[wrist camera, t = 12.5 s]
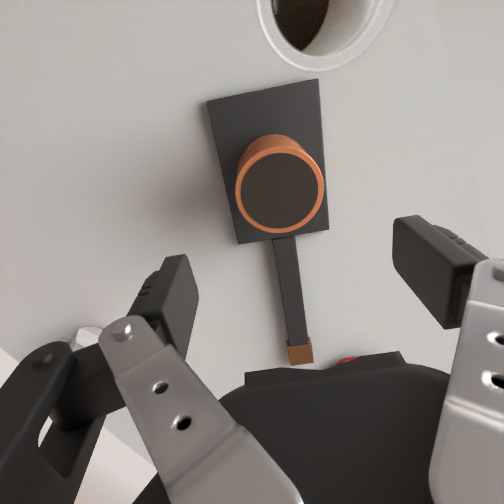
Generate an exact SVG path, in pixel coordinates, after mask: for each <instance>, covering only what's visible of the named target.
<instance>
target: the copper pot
mask: <svg viewBox="0 0 504 504" xmlns="http://www.w3.org/2000/svg"><path fill="white" fill-rule="evenodd" d="M323 193H324V182H323V177H322V174H321V171H320V169H319V167H318V166H317V164H316V163H315V162H314V160H313V159H312V158H311V157H310V156H309V155H308V154H307V153H306V152H305V151H304V149H303V148H302V147H301V146H300V145H299V144H298V143H297V142H295V141H294V140H293V139H291V138H289V137H287V136H284V135H279V134H271V135H265V136H262V137H260V138H258V139H256V140H254V141H253V142H252V143H250V144H249V145H248V146H247V148H246V149H245V150H244V152H243V154H242V156H241V158H240V161H239V165H238V172H237V179H236V186H235V197H236V202H237V206H238V208H239V210H240V212H241V214H242V215H243V216H244V218H245V219H246V220H247V221H248V222H249V223H250V224H252V225H253V226H254V227H256V228H258V229H260V230H263V231H266V232H271V233H285V232H289V231H293V230H295V229H297V228H299V227H301V226H303V225H304V224H306V223H307V222H308V221H309V220H310V219H311V218H312V217H313V216H314V215H315V213H316V212H317V210H318V209H319V207H320V204H321V202H322V198H323Z"/></svg>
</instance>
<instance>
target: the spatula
mask: <svg viewBox="0 0 504 504" xmlns="http://www.w3.org/2000/svg"><path fill="white" fill-rule="evenodd" d="M207 107H208V111H209V116H210V120H211V125H212V129H213V134H214V138H215V143H216V147H217V151H218V156H219V160H220V165H221V169H222V174H223V178H224V183H225V187H226V192H227V196H228V201H229V205H230V210H231V214H232V219H233V223H234V227H235V232H236V236H237V241H238V244H245V243H251V242H257V241H263V240H269V239H272V241H273V247H274V253H275V259H276V265H277V271H278V277H279V283H280V289H281V295H282V301H283V307H284V313H285V319H286V325H287V331H288V337H289V340H287V347H288V353H289V359H290V364H291V366H292V365H300V364H307V363H314V361H313V353H312V345H311V341H310V337H308V335H307V327H306V319H305V311H304V304H303V296H302V288H301V280H300V272H299V265H298V257H297V249H296V241H295V236H294V235H299V234H305V233H311V232H317V231H323V230H329V218H328V204H327V190H326V176H325V162H324V148H323V134H322V120H321V106H320V92H319V79H313V80H308V81H303V82H298V83H293V84H288V85H283V86H279V87H274V88H269V89H264V90H259V91H254V92H249V93H244V94H239V95H234V96H229V97H224V98H219V99H215V100H210V101H207ZM271 134H279V135H284V136H287V137H289V138H291V139H293V140H294V141H295V142H297V143H298V144H299V145H300V146H301V147H302V148H303V149H304V151H305V152H306V153H307V154H308V155H309V156H310V157H311V158H312V159H313V160H314V162H315V163H316V164H317V166H318V167H319V169H320V171H321V174H322V177H323V182H324V193H323V198H322V202H321V204H320V207H319V209H318V210H317V212H316V213H315V215H314V216H313V217H312V218H311V219H310V220H309V221H308V222H307V223H306V224H304V225H303V226H301V227H299V228H297V229H295V230H293V231H289V232H285V233H271V232H266V231H263V230H260V229H258V228H256V227H254V226H253V225H252V224H250V223H249V222H248V221H247V220H246V219H245V218H244V216H243V215H242V214H241V212H240V210H239V208H238V206H237V202H236V197H235V186H236V179H237V172H238V165H239V161H240V158H241V156H242V154H243V152H244V150H245V149H246V148H247V146H248V145H249V144H250V143H252V142H253V141H254V140H256V139H258V138H260V137H262V136H265V135H271Z"/></svg>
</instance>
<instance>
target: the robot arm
mask: <svg viewBox="0 0 504 504" xmlns="http://www.w3.org/2000/svg"><path fill="white" fill-rule="evenodd" d="M392 259H393V264H394V267H395V269H396V271H397V272H398V273H399V275H400V276H401V277H402V278H403V280H404V281H405V282H406V283H407V285H408V286H409V287H410V288H411V289H412V291H413V292H414V293H415V294H416V296H417V297H418V298H419V299H420V300H421V302H422V303H423V304H424V305H425V307H426V308H427V309H428V310H429V311H430V313H431V314H432V315H433V316H434V318H435V319H436V320H437V321H438V322H439V324H440V325H441V326H442V327H443V329H444V330H445V329H452V328H459V327H461V329H460V333H459V338H458V343H457V347H456V352H455V356H454V361H453V365H452V370H451V374H450V375H449V374H447V373H445V372H442V371H439V370H436V369H434V368H430V367H426V366H422V365H416V364H409V363H406V362H405V361H404V359H403V357H402V355H401V354H400V352H399V351H396V352H389V353H382V354H375V355H367V356H360V357H358V358H355V359H352V360H350V361H347V362H344V363H342V364H339V365H336V366H334V367H331V368H328V369H325V370H309V369H295V368H274V369H267V370H260V371H253V372H246V373H245V385H244V386H241V387H239V388H237V389H235V390H233V391H231V392H229V393H228V394H226V395H225V396H223V397H222V398H220V399H219V400H217V399H216V398H215V396H214V395H213V394H212V393H211V392H210V390H209V389H208V388H207V387H206V386H205V384H204V383H203V382H202V381H201V380H200V378H199V377H198V376H197V375H196V374H195V372H194V371H193V370H192V369H191V368H190V366H189V365H188V364H187V363H186V362H185V359H186V354H187V350H188V345H189V341H190V337H191V332H192V328H193V323H194V319H195V315H196V310H197V306H198V301H199V295H198V289H197V285H196V282H195V279H194V276H193V273H192V269H191V266H190V263H189V260H188V258H187V256H186V255H185V254H181V255H176V256H170V257H166V258H165V260H164V262H163V264H162V266H161V268H160V270H159V271H155V272H153V273H152V274H151V275H150V276H149V277H148V278H147V279H146V280H145V282H144V284H143V286H142V289H140V291H139V293H138V296H137V297H136V299H135V301H134V303H133V304H132V306H131V308H130V310H129V312H128V314H127V316H126V317H123V318H120V319H118V320H116V321H114V322H112V323H111V324H110V325H108V326H107V327H106V328H105V329H104V330H103V331H102V332H101V334H100V335H99V338H98V343H95V344H92V345H90V346H87V347H84V348H82V349H79V350H76V351H74V352H73V351H72V349H71V347H70V346H69V344H68V343H67V342H64V341H56V342H52V343H48V344H46V345H44V346H41V347H39V348H38V349H36V350H34V351H33V352H31V353H30V354H29V355H27V356H26V357H25V358H24V359H23V360H22V361H21V362H20V363H19V365H18V366H17V367H16V369H15V370H14V371H13V373H12V374H11V375H10V377H9V378H8V379H7V380H6V382H5V383H4V384H3V386H2V387H1V388H0V504H74V501H75V499H76V496H77V493H78V491H79V488H80V485H81V483H82V480H83V477H84V474H85V472H86V469H87V466H88V464H89V461H90V458H91V456H92V453H93V450H94V448H95V445H96V442H97V439H98V437H99V434H100V431H101V429H102V426H103V423H104V421H105V418H106V415H107V414H109V413H111V412H114V411H116V410H118V409H121V408H123V407H125V406H127V408H128V410H129V412H130V414H131V416H132V418H133V421H134V423H135V425H136V427H137V429H138V431H139V433H140V435H141V437H142V440H143V442H144V444H145V446H146V448H147V450H148V452H149V454H150V457H151V459H152V461H153V463H154V465H155V467H156V469H157V471H158V472H157V473H156V475H155V476H154V478H152V480H151V481H150V482H149V483H148V485H147V486H146V487H145V488H144V490H143V491H142V492H141V493H140V495H139V496H138V497H137V499H136V500H135V501H134V502H133V503H132V504H504V259H490V258H488V257H487V256H485V255H484V254H483V253H481V252H480V251H478V250H477V249H475V248H474V247H473V246H471V245H470V244H467V243H466V241H464V240H463V239H461V238H458V236H457V235H456V234H454V233H453V232H451V231H450V230H448V229H445V228H442V227H439V226H436V225H431V224H430V223H428V222H427V221H426V220H424V219H423V218H422V217H420V216H419V215H413V216H407V217H402V218H396V219H395V220H394V224H393V247H392ZM48 416H49V417H50V418H51V420H52V421H53V422H52V424H51V426H50V428H49V430H48V432H47V434H46V435H45V437H44V439H43V441H42V443H41V445H40V447H38V438H39V434H40V431H41V429H42V427H43V425H44V423H45V421H46V420H47V418H48Z"/></svg>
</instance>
